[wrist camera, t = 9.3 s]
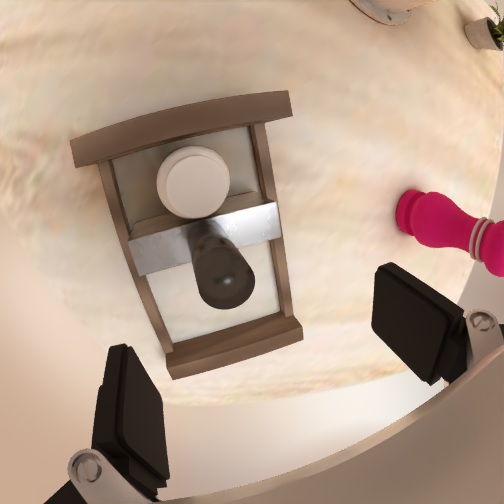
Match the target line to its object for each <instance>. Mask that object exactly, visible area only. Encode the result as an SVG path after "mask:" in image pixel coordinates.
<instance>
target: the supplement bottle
mask: <svg viewBox="0 0 504 504" xmlns="http://www.w3.org/2000/svg"><path fill="white" fill-rule="evenodd" d="M229 186H230V175H229V171H228V168H227V165H226V163H225V162H224V160H223V159H222V158H221V157H220V156H219V155H218V154H217V153H216V152H214V151H213V150H211V149H209V148H206V147H203V146H195V145H194V146H185V147H182V148H179V149H177V150H175V151H174V152H172V153H171V154H169V155H168V156H167V157H166V159H165V160H164V161H163V163H162V164H161V166H160V168H159V171H158V174H157V191H158V195H159V197H160V199H161V201H162V203H163V204H164V206H165V207H166V208H167V209H168V210H169V211H171V212H172V213H174V214H175V215H177V216H180V217H183V218H189V219H195V218H201V217H205V216H208V215H210V214H212V213H214V212H215V211H216V210H217V209H218V208H219V207H220V206H221V205H222V204H223V202H224V200H225V198H226V196H227V194H228V191H229Z"/></svg>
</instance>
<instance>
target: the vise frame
mask: <svg viewBox="0 0 504 504" xmlns="http://www.w3.org/2000/svg"><path fill="white" fill-rule="evenodd" d="M291 116H293V114H292V109H291V103H290V98H289V93H288V90H286V91H274V92H264V93H255V94H247V95H239V96H232V97H226V98H220V99H214V100H208V101H203V102H198V103H193V104H188V105H184V106H179V107H175V108H170V109H166V110H162V111H158V112H155V113H151V114H147V115H143V116H140V117H136V118H133V119H130V120H126V121H123V122H120V123H117V124H114V125H111V126H108V127H105V128H102V129H99V130H96V131H94V132H91V133H88V134H86V135H83V136H80V137H78V138H75V139H73V140H70V145H71V149H72V154H73V159H74V163H75V168H78V167H83V166H88V165H93V164H98V166H99V170H100V175H101V179H102V182H103V186H104V190H105V194H106V197H107V201H108V204H109V208H110V211H111V215H112V218H113V221H114V225H115V228H116V231H117V234H118V237H119V240H120V243H121V246H122V249H123V252H124V255H125V258H126V261H127V263H128V266H129V269H130V271H131V274H132V277H133V279H134V282H135V285H136V287H137V290H138V292H139V295H140V297H141V300H142V302H143V305H144V307H145V309H146V312H147V314H148V316H149V319H150V321H151V323H152V326H153V328H154V330H155V332H156V334H157V337H158V339H159V341H160V343H161V345H162V347H163V349H164V352H165V354H166V367H167V370H168V372H169V374H170V376H171V378H172V379H173V380H176V379H180V378H184V377H188V376H192V375H195V374H199V373H203V372H206V371H210V370H213V369H217V368H220V367H224V366H227V365H230V364H234V363H237V362H240V361H243V360H247V359H250V358H253V357H256V356H259V355H262V354H265V353H268V352H271V351H274V350H276V349H279V348H282V347H285V346H288V345H290V344H293V343H296V342H298V341H301V340H304V339H303V329H302V326H301V324H300V323H299V322H298V320H297V319H296V318H295V316H294V315H293V307H292V299H291V291H290V284H289V276H288V269H287V262H286V254H285V247H284V241H283V234H282V227H281V220H280V214H279V207H278V201H277V195H276V189H275V182H274V176H273V170H272V164H271V159H270V153H269V147H268V141H267V136H266V130H265V125H264V123H266V122H270V121H274V120H278V119H282V118H286V117H291ZM245 126H250V131H251V136H252V141H253V147H254V152H255V158H256V163H257V169H258V174H259V180H260V186H261V191H262V195H263V196H265V197H267V198H269V199H271V200H273V201H275V202H276V205H277V211H278V218H279V224H280V231H281V237H279V238H275V239H271V240H270V244H271V250H272V257H273V263H274V269H275V275H276V281H277V288H278V294H279V301H280V307H281V312H278V313H275V314H272V315H269V316H266V317H263V318H260V319H257V320H253V321H250V322H247V323H244V324H241V325H237V326H234V327H231V328H228V329H224V330H221V331H217V332H214V333H211V334H207V335H204V336H200V337H197V338H193V339H189V340H186V341H182V342H178V343H175V344H173V343H172V341H171V338H170V336H169V334H168V331H167V329H166V327H165V324H164V322H163V319H162V317H161V315H160V312H159V310H158V307H157V305H156V302H155V300H154V297H153V294H152V292H151V289H150V286H149V284H148V281H147V278H146V276H145V275H143V276H139V274H138V271H137V268H136V266H135V263H134V260H133V257H132V254H131V251H130V248H129V245H128V242H127V241H128V239H129V237H130V234H131V231H130V228H129V225H128V221H127V218H126V214H125V211H124V208H123V204H122V200H121V197H120V193H119V189H118V186H117V182H116V178H115V174H114V170H113V165H112V161H111V159H115V158H118V157H121V156H124V155H127V154H130V153H134V152H137V151H140V150H144V149H147V148H151V147H154V146H158V145H162V144H165V143H169V142H173V141H177V140H181V139H185V138H190V137H194V136H199V135H203V134H208V133H213V132H218V131H223V130H228V129H233V128H239V127H245Z"/></svg>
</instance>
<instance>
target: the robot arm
mask: <svg viewBox="0 0 504 504" xmlns="http://www.w3.org/2000/svg"><path fill="white" fill-rule="evenodd" d="M351 1H352V2H353V3H354V4H355V5H356V6H357V7H358V8H359V9H360V10H362V11H363V12H364V13H366V14H367V15H368V16H370V17H372V18H373V19H375V20H377V21H379V22H381V23H384V24H387V25H399V24H402V23H404V22H406V21H407V20H408V19H409V17H410V14H411V9H412V8H415V7H418V6H421V5H425V4H428V3H431V2H435V1H438V0H351ZM463 313H464V310H463V309H462V308H460V307H459V306H458V305H456V304H455V303H453V302H452V301H450V300H449V299H448V298H446V297H445V296H443V295H442V294H440V293H439V292H437V291H436V290H434V289H433V288H431V287H430V286H428V285H427V284H425V283H424V282H422V281H421V280H419V279H418V278H416V277H415V276H413V275H412V274H410V273H409V272H407V271H405V270H404V269H402V268H401V267H399V266H398V265H396V264H394V263H392V262H389V263H387V264H384V265H381V266H379V267H378V269H377V271H376V273H375V281H374V298H373V311H372V322H371V326H372V329H373V331H374V332H375V333H376V334H377V335H378V336H379V337H380V338H381V339H382V340H383V341H384V342H385V343H386V345H387V346H388V347H389V348H390V349H391V350H392V351H393V352H394V353H395V354H396V355H397V356H398V357H399V358H400V359H401V360H402V361H403V362H404V363H405V364H406V365H407V366H408V367H409V368H410V369H411V370H412V371H413V372H414V373H415V374H416V375H417V376H418V377H419V378H420V379H421V380H422V381H424V382H427V383H428V384H429V385H430V386H431V385H433V384H434V383H435V382H437V381H438V380H440V378H441V377H442V378H443V379H444V389H443V390H442V391H441V392H439V393H438V394H436V395H435V396H434V397H432V398H431V399H430V400H428V401H427V402H425V403H424V404H422V405H421V406H419V407H418V408H416V409H415V410H414V411H412V412H410V413H409V414H407V415H406V416H404V417H402V418H401V419H399V420H397V421H396V422H394V423H393V424H391V425H389V426H387V427H386V428H384V429H382V430H381V431H379V432H377V433H375V434H373V435H372V436H370V437H368V438H366V439H364V440H362V441H360V442H358V443H356V444H354V445H352V446H350V447H348V448H346V449H344V450H342V451H339V452H337V453H335V454H333V455H330V456H328V457H326V458H324V459H321V460H319V461H316V462H314V463H311V464H309V465H306V466H304V467H301V468H298V469H296V470H293V471H290V472H287V473H284V474H281V475H278V476H275V477H272V478H269V479H266V480H262V481H259V482H256V483H252V484H248V485H244V486H240V487H236V488H232V489H227V490H223V491H219V492H214V493H209V494H205V495H199V496H193V497H186V498H179V499H173V500H167V501H162V500H160V499H159V498H158V497H157V495H158V492H157V488H164V487H167V484H166V480H168V479H169V478H170V473H169V465H168V457H167V448H166V439H165V428H164V415H163V402H162V398H161V395H160V393H159V392H158V390H157V388H156V387H155V385H154V384H153V382H152V380H151V379H150V377H149V375H148V374H147V372H146V370H145V369H144V367H143V365H142V363H141V362H140V360H139V358H138V356H137V355H136V353H135V351H134V349H133V348H132V347H131V346H129V347H128V346H127V345H126V344H119V345H115V346H111V347H110V348H109V351H108V356H107V362H106V367H105V372H104V378H103V384H102V385H101V386H100V387H99V390H98V397H97V403H96V410H95V418H94V426H93V436H92V446H91V449H83V450H80V451H78V452H77V453H75V454H74V455H73V456H72V457H71V459H70V461H69V464H68V475H69V477H70V480H69V481H68V482H67V483H66V484H65V485H64V486H62V487H61V488H60V489H59V490H58V491H57V492H56V493H55V494H54V495H53V496H52V497H50V498H49V499H48V500H47V501H46V502H45V503H44V504H504V324H498V321H497V319H496V317H495V316H494V315H493V314H492V313H490V312H488V311H486V310H481V309H476V310H472V311H470V312H469V313H468V314H467V316H466V318H464V317H463Z"/></svg>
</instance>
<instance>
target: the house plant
mask: <svg viewBox="0 0 504 504" xmlns="http://www.w3.org/2000/svg"><path fill="white" fill-rule="evenodd" d="M490 7H491V8H492V9H493V10H494V11H495V12H496V14H497V15H498V16H499V17H500V15H499V13H498V11H497V10H496V9H495V8H494V7H493V6H490ZM495 18H496V17H495ZM499 19H500V18H499ZM465 33H466V36H467V38H468V40H469V42H470V43H471V45H472V46H473V47H475V48H482V49H491V50H498V51H502V50H503V46H504V45H503V42H504V18H503V20H502V22H500V21H499V24H498V25H497V26H496V25H495V23H494V22H493V21H492V20H491V19H490V18H489V17H486V18H483V19H480V20H477V21H475V22H472V23H469V24H467V25H465Z"/></svg>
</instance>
